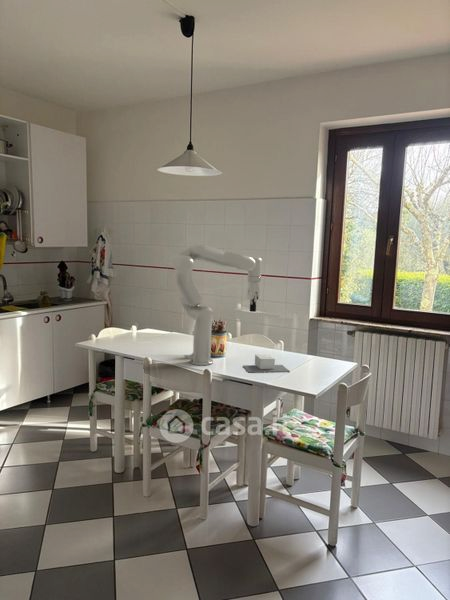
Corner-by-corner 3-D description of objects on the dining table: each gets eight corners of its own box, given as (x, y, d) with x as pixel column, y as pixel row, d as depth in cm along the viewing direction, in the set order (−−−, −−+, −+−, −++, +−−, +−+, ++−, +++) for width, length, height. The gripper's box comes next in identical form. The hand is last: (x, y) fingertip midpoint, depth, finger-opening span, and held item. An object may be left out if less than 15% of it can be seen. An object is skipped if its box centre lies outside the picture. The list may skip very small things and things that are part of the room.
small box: (254, 364, 242) (259, 369, 232) (254, 354, 242) (260, 358, 231) (268, 364, 244) (274, 369, 234) (269, 354, 243) (275, 358, 233)
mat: (248, 372, 227) (248, 371, 227) (242, 366, 239) (242, 365, 239) (289, 372, 232) (289, 371, 232) (282, 365, 243) (282, 364, 243)
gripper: (244, 278, 259) (243, 309, 261) (251, 280, 244) (249, 313, 247) (257, 278, 261) (255, 309, 263) (264, 280, 246) (262, 313, 248)
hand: (252, 311), depth 255 cm, fingers closed
